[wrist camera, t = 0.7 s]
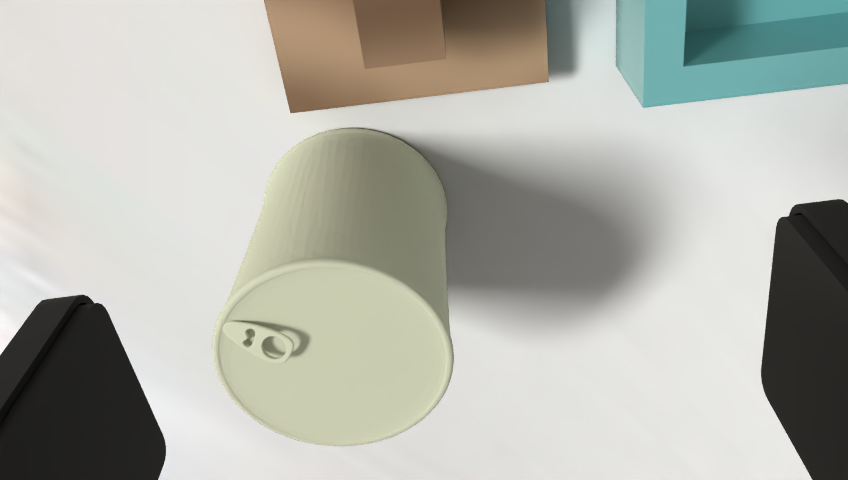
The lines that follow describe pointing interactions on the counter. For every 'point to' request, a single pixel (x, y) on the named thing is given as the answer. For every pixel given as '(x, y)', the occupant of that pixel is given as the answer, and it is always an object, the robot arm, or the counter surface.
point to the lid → (404, 48)
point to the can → (341, 294)
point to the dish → (729, 47)
